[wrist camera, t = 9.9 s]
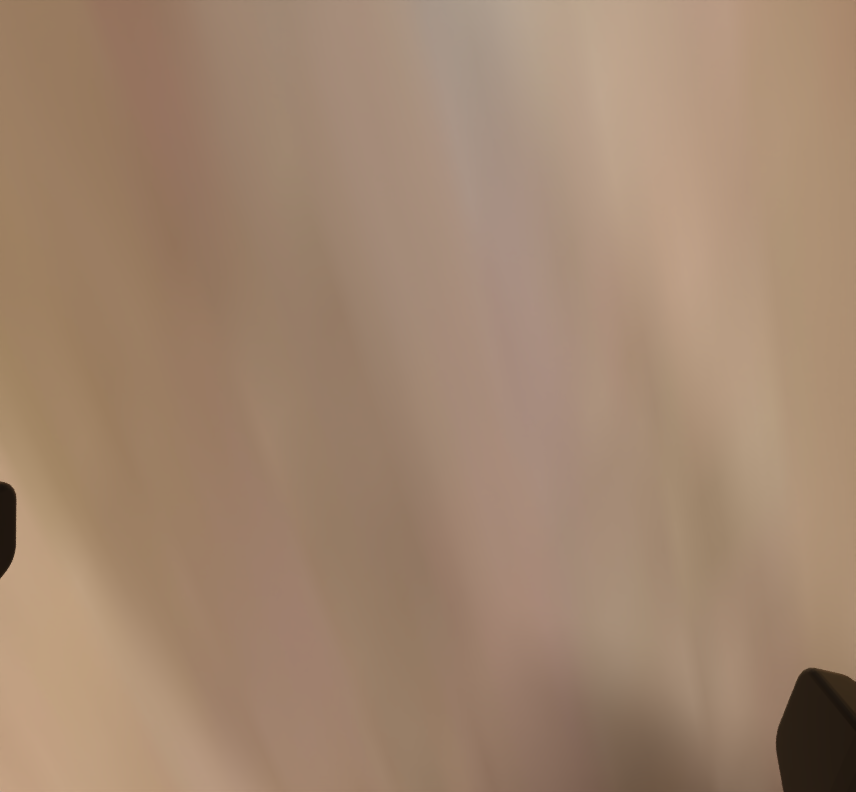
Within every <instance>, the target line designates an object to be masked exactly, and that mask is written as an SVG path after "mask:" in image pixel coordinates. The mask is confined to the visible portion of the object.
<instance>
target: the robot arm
mask: <svg viewBox="0 0 856 792" xmlns="http://www.w3.org/2000/svg"><path fill="white" fill-rule="evenodd" d="M15 548H16V493H15V491H14V489H13V488H12V486H11V485H10V484H8V483H5V482H1V481H0V578H1V577H2V576H3V575H4V573H5V572H6V571H7V569H8V568H9V566H10V564H11V562H12V560H13V557H14V554H15ZM776 751H777V758H778V763H779V769H780V775H781V780H782V786H783V791H784V792H856V682H855V681H854V680H852V679H851V678H849V677H848V676H845V675H843V674H839V673H835V672H830V671H826V670H822V669H817V668H808V669H806V670H804V671H803V672H802V673H801V674H800V675H799V677H798V679H797V681H796V684H795V686H794V689H793V691H792V694H791V696H790V699H789V701H788V704H787V706H786V709H785V711H784V714H783V717H782V719H781V722H780V724H779V727H778V731H777V736H776Z"/></svg>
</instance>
